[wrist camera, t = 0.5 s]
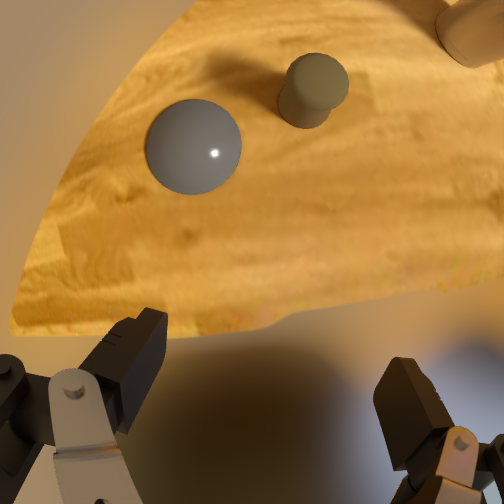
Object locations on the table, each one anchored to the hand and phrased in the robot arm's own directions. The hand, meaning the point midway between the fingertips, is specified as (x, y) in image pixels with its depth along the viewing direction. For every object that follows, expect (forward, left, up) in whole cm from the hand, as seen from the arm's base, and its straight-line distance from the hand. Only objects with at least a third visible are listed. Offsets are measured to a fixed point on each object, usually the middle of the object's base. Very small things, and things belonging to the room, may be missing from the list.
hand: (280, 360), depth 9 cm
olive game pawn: (-12, -6, -25) cm, 29 cm away
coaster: (0, -12, -25) cm, 28 cm away
